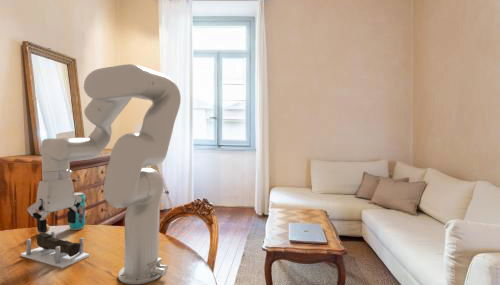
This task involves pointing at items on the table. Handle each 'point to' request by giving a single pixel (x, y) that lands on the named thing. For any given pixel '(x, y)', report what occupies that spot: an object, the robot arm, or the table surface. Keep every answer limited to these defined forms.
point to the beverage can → (79, 214)
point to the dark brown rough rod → (57, 244)
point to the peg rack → (54, 254)
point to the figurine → (47, 221)
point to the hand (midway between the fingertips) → (57, 227)
